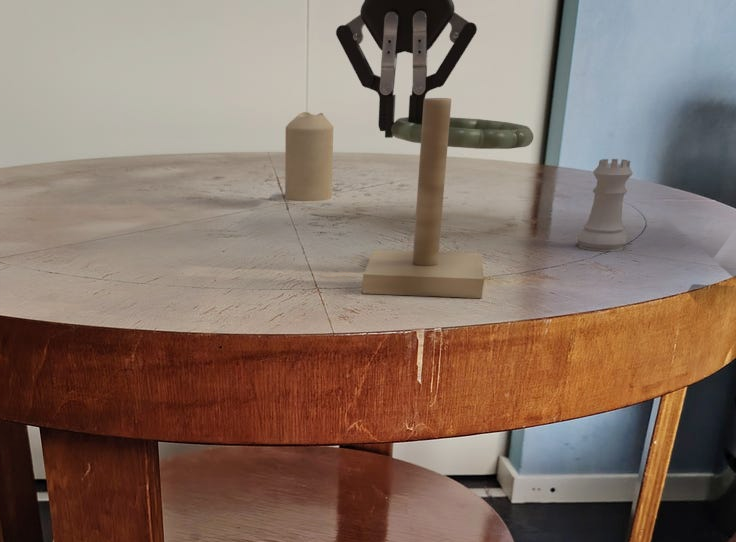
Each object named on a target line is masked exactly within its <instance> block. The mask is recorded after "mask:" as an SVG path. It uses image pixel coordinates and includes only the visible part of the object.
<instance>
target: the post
mask: <svg viewBox="0 0 736 542" xmlns="http://www.w3.org/2000/svg"><path fill="white" fill-rule="evenodd" d="M451 109H452V98H448V97H427V98H426V97H425V99H424V105H423V119H422V134H421V143H420V150H419V164H418V177H417V195H416V206H415V207H416V208H415V219H414V220H415V221H414V235H413V250H386V249H385V250H384V249H382V250H381V249H374V250H373V251H372V253H371V256H370V258H369V260H368V262H367V265H366V268H365V269H364V272H363V274H362V294H365V295H367V294H369V295H392V296H394V295H395V296H417V297H418V296H419V297H441V298H442V297H444V298H462V299H463V298H464V299H465V298H466V299H482V298H483V292H484V281H485V275H484V264H483V254H482V253H478V252H450V251H449V252H447V251H445V252H444V251H440V243H441V231H442V230H441V229H442V219H443V218H442V217H443V206H444V194H445V193H444V192H445V184H446V183H445V182H446V170H447V158H448V148H449V147H448V135H449V123H450V117H451Z"/></svg>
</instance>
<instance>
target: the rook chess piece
mask: <svg viewBox="0 0 736 542" xmlns="http://www.w3.org/2000/svg"><path fill="white" fill-rule="evenodd" d="M618 162H619V158H611V162H610V163H609V159H608V158H602V159H599V161H598V166H597V167H596V168H595V169H594V170H593V171H592V174H593V175H594V177H595V179H596V185H595V187H594V188H593V189H592V192H593V193H594V196H593V202H592V207H591V210H590V213H589V216H588V219H587V221H586V223H585V224H584V225H583V229H582V230H581V231H580V232H579V233H578V234H577V236H576V240H577V242H578V245H577V247H578V248H580V249H583V250H586V251H593V252H619V251H622V250H624V246H625V245H626V244H627V243H628V235H627V234H626V232H625V226H624V225H623V202H624V196H625V195H626V193H627V192H628V190H627V189H626V183H627V181H628V180H629V179H630V178H631V177H632V175H633V174H634V172H633V171H632V169H631V167H630V165H631V160H628V159H621V161H620V163H618Z"/></svg>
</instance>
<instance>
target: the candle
mask: <svg viewBox="0 0 736 542" xmlns="http://www.w3.org/2000/svg"><path fill="white" fill-rule="evenodd" d="M284 151H285V152H284V153H285V157H284V158H285V160H284V162H285V165H284V166H285V167H284V168H285V171H284V178H285V179H284V181H285V182H284V193H285V194H284V199H286V200H289V201H294V202H321V201H328V200H330V199H332V193H333V191H332V190H333V189H332V188H333V159H334V156H333V154H334V126H333V124H332V123H331V122H330V121H329V119H327V117H326V116H325V114H324V113H323V112H320V113H318V114H312V113H311V112H308V111H304V112H300V113H298V114H297V116H295V117H294V118H293V119H292V120H291V121H290V122H289V123H288V124H287V125H286V126H285V150H284Z"/></svg>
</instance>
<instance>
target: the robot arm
mask: <svg viewBox="0 0 736 542" xmlns="http://www.w3.org/2000/svg"><path fill="white" fill-rule="evenodd" d="M359 12H360V14H358V16H356V17H354V18H353V19H352V20H350V21H348V22H347V23H346V24H341V25H339V26H338V27H337V28H336V30H335V35H336V37H337V40H338V41H339V43H340V45H341V48H342V50H343V51H344V53H345V55H346V57H347V59H348V61H349V62H350V63H349V64H350V65H351V67H352V69H353V70H354V73H355V75H356V76H357V79H358V80H359V82H360V84H361V85H362V87H363V88H365V89H369V90H372V91H374V92H376V93H377V95H378V97H379V100H378V101H379V102H378V103H379V104H378V122H377V123H378V130H379V132H384V138H385V139H388V138H389V139H393V138H394V136H393V134H392V132H391V128H392V125H393V124H394V122H395V116H396V115H395V113H396V94H394V89H395V83H396V70H397V63H398V55H399V54H401V53H404V52H405V53H409V54H411V55H412V87H411V94H410V95H409V100H408V101H409V102H408V116H407V117H408V122H411V123H415V124H422V119H423V105H424V99H426V96H427V94H428V92H430V91H432V90H434V89H437V88H442V87H443V86H444V85H445V83H446V82H447V80H448V79H449V78H450V75H451V74H452V72H453V71H454V69H455V68H456V65H457V64H458V62H459V61H460V59H461V58H462V56H463V55H464V53H465V51H466V50H467V48H468V46H469V45H470V43H471V42H472V40H473V39H474V37H475V35H476V34H477V31H478V27H477V25H476V24H475V23H474V22H471V21H468V20H467V19H465V18H464V17H463V16H461V15H459V14H458V13H456V12H455V4H454V1H453V0H364V1H363V2H362V4H361V6H360V11H359ZM448 24H450V28H451V29H450V33H449V36H448V37H449V40H450V42H451V43H453V44H452V45H451V47H450V49H449V50H448V52H447V53H446V55H445V57H444V59H442V62H441V63H440V65H439V67H438V69H437V70H436V72H435V73H432V74H430V75H428V51H429V50H430V49H431V48H432V47H433V45H434V44H435V43H436V41H437V40H438V39H439V37H440V36H441V34H442V33H443V32H444V30H445V29H446V27H447V26H448ZM364 26H365V27H366V29H367V31H368V32H369V34H370V35H371V37H372V38H373V40H374V42H375V44H376V45H377V47H378V48H379V50H381V63H380V67H381V68H380V76H379V75H377V74H375V73H374V71H373V69H372V67H371V64H370V63H369V61H368V59H367V58H366V55H365V53H364V51H363V49H362V47H361V46H360V44H362V43H363V41H364V33H363V29H364Z"/></svg>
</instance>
